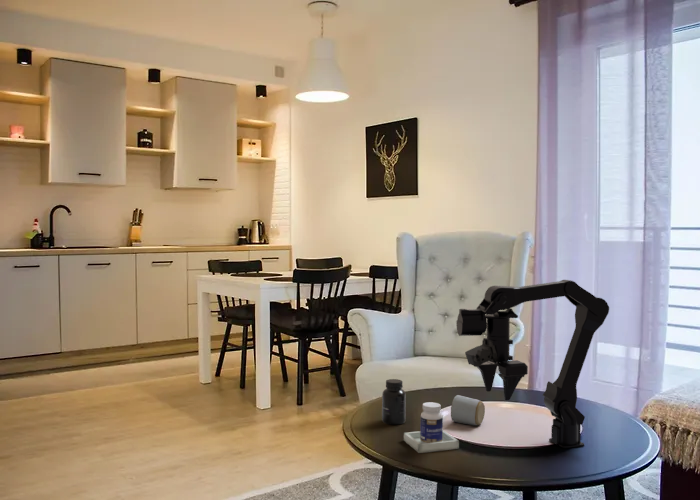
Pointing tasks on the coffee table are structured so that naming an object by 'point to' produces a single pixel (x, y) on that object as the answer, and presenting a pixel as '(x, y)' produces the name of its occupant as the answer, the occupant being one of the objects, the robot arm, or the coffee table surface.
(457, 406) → the ceramic mug
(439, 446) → the tray
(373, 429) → the coffee table surface
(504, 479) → the coffee table surface
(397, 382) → the supplement bottle
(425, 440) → the pill bottle
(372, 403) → the coffee table surface
